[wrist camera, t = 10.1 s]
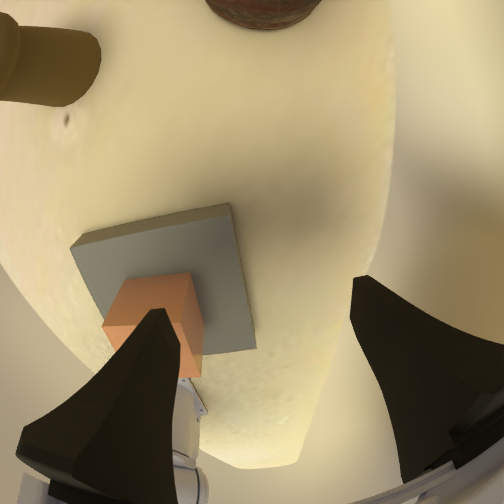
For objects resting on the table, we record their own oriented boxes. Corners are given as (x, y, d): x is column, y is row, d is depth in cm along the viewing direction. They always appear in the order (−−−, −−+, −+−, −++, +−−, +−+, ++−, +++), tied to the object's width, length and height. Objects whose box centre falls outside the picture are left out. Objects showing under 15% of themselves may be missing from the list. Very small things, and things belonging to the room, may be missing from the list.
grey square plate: (253, 324, 25) (256, 348, 23) (135, 338, 25) (129, 360, 23) (229, 199, 19) (229, 215, 17) (86, 230, 20) (69, 248, 17)
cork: (44, 120, 14) (-68, 153, 5) (32, 57, 11) (-72, 56, 2) (108, 84, 14) (-7, 77, 4) (95, 17, 11) (-3, -26, 1)
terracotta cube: (204, 325, 21) (200, 377, 17) (145, 329, 21) (132, 377, 16) (190, 272, 18) (180, 322, 14) (124, 279, 18) (101, 326, 14)
